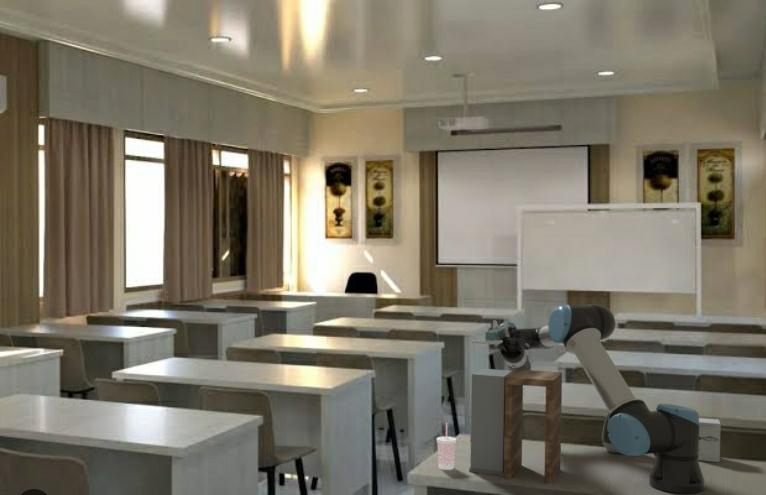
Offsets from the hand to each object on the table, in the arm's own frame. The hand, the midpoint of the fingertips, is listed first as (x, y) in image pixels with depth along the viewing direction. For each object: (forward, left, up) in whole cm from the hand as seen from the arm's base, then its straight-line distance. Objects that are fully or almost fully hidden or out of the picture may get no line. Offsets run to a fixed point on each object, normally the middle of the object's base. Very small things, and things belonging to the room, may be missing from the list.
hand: (499, 324), depth 277 cm
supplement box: (-63, -29, -44) cm, 81 cm away
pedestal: (-1, +10, -43) cm, 45 cm away
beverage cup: (+12, +15, -44) cm, 48 cm away
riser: (-14, +11, -43) cm, 47 cm away
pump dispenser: (-35, -27, -44) cm, 62 cm away
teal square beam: (0, +5, -4) cm, 7 cm away
